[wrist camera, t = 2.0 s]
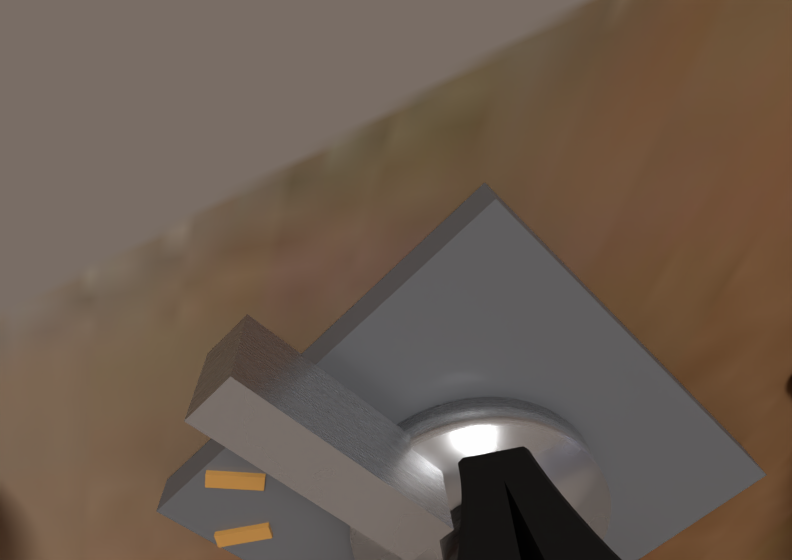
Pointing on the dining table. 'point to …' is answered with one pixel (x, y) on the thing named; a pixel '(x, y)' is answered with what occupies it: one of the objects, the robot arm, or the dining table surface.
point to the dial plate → (487, 392)
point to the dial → (377, 446)
